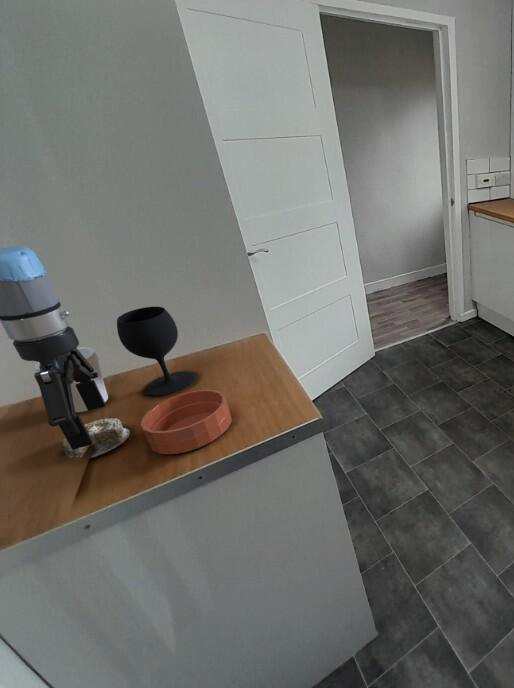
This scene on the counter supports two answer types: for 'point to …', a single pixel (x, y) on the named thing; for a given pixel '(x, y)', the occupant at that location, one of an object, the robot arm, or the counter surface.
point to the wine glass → (153, 345)
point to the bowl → (186, 421)
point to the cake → (100, 438)
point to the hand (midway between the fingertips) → (90, 425)
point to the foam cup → (93, 361)
